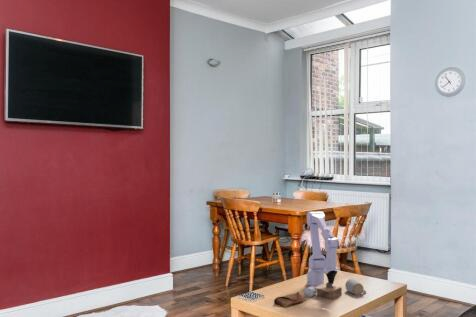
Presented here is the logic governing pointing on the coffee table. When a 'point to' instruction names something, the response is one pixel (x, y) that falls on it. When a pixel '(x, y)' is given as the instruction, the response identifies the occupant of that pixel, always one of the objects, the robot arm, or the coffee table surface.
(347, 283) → the ceramic mug
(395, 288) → the coffee table surface
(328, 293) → the keepsake box
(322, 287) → the lid
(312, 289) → the white rounded piece
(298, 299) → the sunglasses case
